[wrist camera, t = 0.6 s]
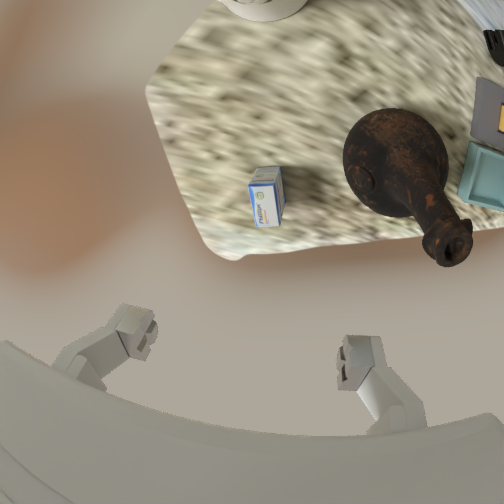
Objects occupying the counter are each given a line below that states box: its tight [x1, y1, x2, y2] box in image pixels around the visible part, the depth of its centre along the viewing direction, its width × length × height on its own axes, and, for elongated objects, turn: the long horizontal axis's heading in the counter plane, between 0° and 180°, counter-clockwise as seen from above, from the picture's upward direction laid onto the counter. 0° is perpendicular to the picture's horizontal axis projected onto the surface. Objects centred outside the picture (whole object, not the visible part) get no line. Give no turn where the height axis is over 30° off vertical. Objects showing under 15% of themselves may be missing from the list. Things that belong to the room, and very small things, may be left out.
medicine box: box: [248, 166, 285, 227], centre depth 47 cm, size 8×4×9 cm, turn 11°
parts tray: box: [457, 141, 504, 212], centre depth 35 cm, size 12×14×4 cm
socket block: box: [470, 77, 504, 149], centre depth 27 cm, size 12×14×2 cm
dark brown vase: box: [343, 108, 473, 267], centre depth 30 cm, size 18×18×28 cm
